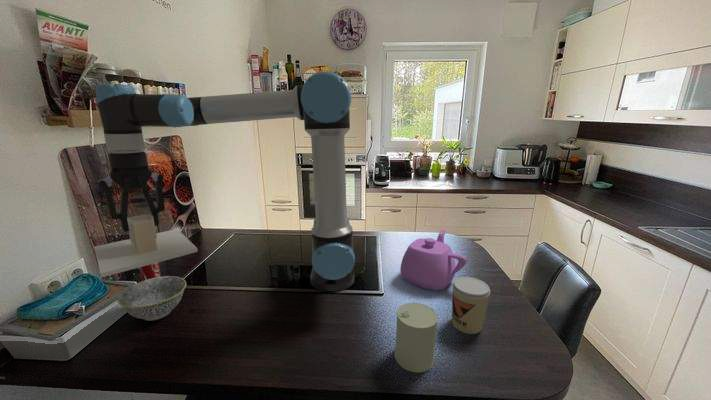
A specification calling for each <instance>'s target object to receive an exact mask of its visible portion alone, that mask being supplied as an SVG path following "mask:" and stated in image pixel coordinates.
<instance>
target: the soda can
mask: <svg viewBox="0 0 711 400" xmlns="http://www.w3.org/2000/svg"><path fill="white" fill-rule="evenodd" d="M139 271H140V276H141V277H140V278H141V282H142V281H145V280H148V279H152V278H157V277H162V273H161V272H162V271H161V267H160V262H158V263H154V264H150V265H146V266H143V267H139Z"/></svg>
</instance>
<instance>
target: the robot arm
mask: <svg viewBox="0 0 711 400" xmlns="http://www.w3.org/2000/svg"><path fill="white" fill-rule="evenodd" d="M94 89H95V95H96V96H95V97H96V106H97V109H98V113H99V116H100V121H101V125H102V129H103V130H102V131H103V137H104V141H105V145H106V150H107V151H108V152H109V153H108V154H107V157H108V161H109V165H110V173H109V176H107V177H105V178H103V179H102V178H100V179H98V181H97V182H98V185H99V186H100V187H101V189H102V190H103V193H104V196H105V200H106V201H105V202H106V204H107V207H108V211H109V215H110V217H111V219H112V220H120V223H121V227H122V230H123V232H124V233H126V232H128V234H129V239H130V240H131V243H132V244H135V243H136V242H135V237H134V232H133V227H132V221H131V219H130V217H131V216H128V211H129V195H130V194H129V193H130V190H133V189H140V192H141V194H142V196H143V198H144V200H145V202H146V205H147V206H148V209H149V212H150V213H147V216H148V217H149V218H150V219H151V220H152V223H153V228H154V234H155V239H157V235H156V233H157V231H156V226H157V227H158V226H160V220H159V215H158V214H159V213H161V212H164V211H165V210H166V206H165V198H164V191H163V181H164V178H165V177H164V175H163V174H161V173H156V172H152V170H151V169H150V167H149V162H148V157H147V152H145V151H144V150H145V149H146V145H145V140H144V136H143V128H142V127H161V128H166V127H168V128H182V127H195V126H203V125H213V124H214V125H215V124H222V123H223V124H224V123H225V124H226V123H238V122H251V121H262V120H276V119H287V118H297V119H298V120H299V121H303V125H304V131H305V132H306V133H307V134H308V135H309V136H310V140H311V141H310V142H311V159H312V172H313V173H312V174H313V175H312V176H313V191H314V205H315V206H314V207H315V218H314V219H313V226H312V228H311V229H310V232H311V247H312V249H311V250H312V256H311V263H312V269H311V272H310V277H309V279H310V284H311V286H312V287H313V288H314V289H317V290H319V291H321V290H322V292H327V291H335V292H340V291H339V290H341V291H344V290H346V289H348V288H350V287H351V286H352V285H353V284H354V282H355V271H354V266H355V263H356V255H355V251H354V236H353V235H354V234H353V233H354V232H353V226H352V225H351V224H350V220H349V219H350V218H349V217H348V214H347V186H346V185H347V182H346V181H347V178H346V151H345V147H346V146H345V145H346V144H345V135H346V134H347V133H348V132H349V131H350V130H351V122H350V121H351V120H350V116H351V115H350V109H351V108H350V107H351V104H352V93H351V89H350V87H349V85H348V82H347V81H346V80H345V79H344V78H343V77H341V76H340V75H339V74H337V73H335V72H332V71H326V70H323V71H318V72H316V73H313V74H312V75H311V76H309V77H308V78H307V79H306V81H305V82H304V83H303V84H302V85H301V84H300V85H295V87H294V88H293V89H290V90H289V89H288V90H287V89H285V90H274V91H272V90H271V91H261V92H247V93H237V94H234V93H233V94H220V95H211V96H210V95H209V96H208V95H207V96H193V97H187V96H185V95H183V94H175V93H166V94H165V93H161V94H158V93H157V94H156V93H155V94H154V93H153V94H152V93H151V94H149V93H148V94H143V93H142V94H141V93H137V92H136V89H135V88H134V87H133V85H129V84H123V83H122V84H119V83H99V84H97V85H96V86H95V88H94ZM150 179H152V181H153V182H154V190H155V197H156V204H157V206H156V205H155V203H154V201H153V198H152V196H151V195H150V192H149V189H148V187H147V183H148V182H149V180H150ZM112 182H114V183H115V184H117V185H118V186H119V187H120V207H119V212H117V209H116V204H115V201H114V197H113V194H112V191H111V187H112V185H113V184H112Z"/></svg>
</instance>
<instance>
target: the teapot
mask: <svg viewBox="0 0 711 400" xmlns="http://www.w3.org/2000/svg"><path fill="white" fill-rule="evenodd" d="M445 235H446V230H441V231H439V233H438V235H437V238H436V239H435V238H432V237H426V238H418V239H415V240H413V241H412V242H411V243H410V244H409V245H408V246H407V248H406V250H405V252H404V255H403V256H402V260H401V262H400V263H401V264H400V268H399V271H400V274H401V276H402V278H403V280H405V281H406V282H408V283H410V284H413V285H414V286H417V287H420V288H424V289H427V290H433V291H442V290H445V289H446V287H447V286H448V285H450V283H451V282H452V281H453V279H454V277H455V276H456V274H457V273H458V272H459V271H461V270H462V269H463V268H464V267H465V266H466V263H467V257H466V256H464V255H462V254H460V253H453V250H452V248H451V246H450V245H449V244H447V243H445V241H444V240H445ZM455 259H456V260H457V264H456V260H455Z"/></svg>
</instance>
